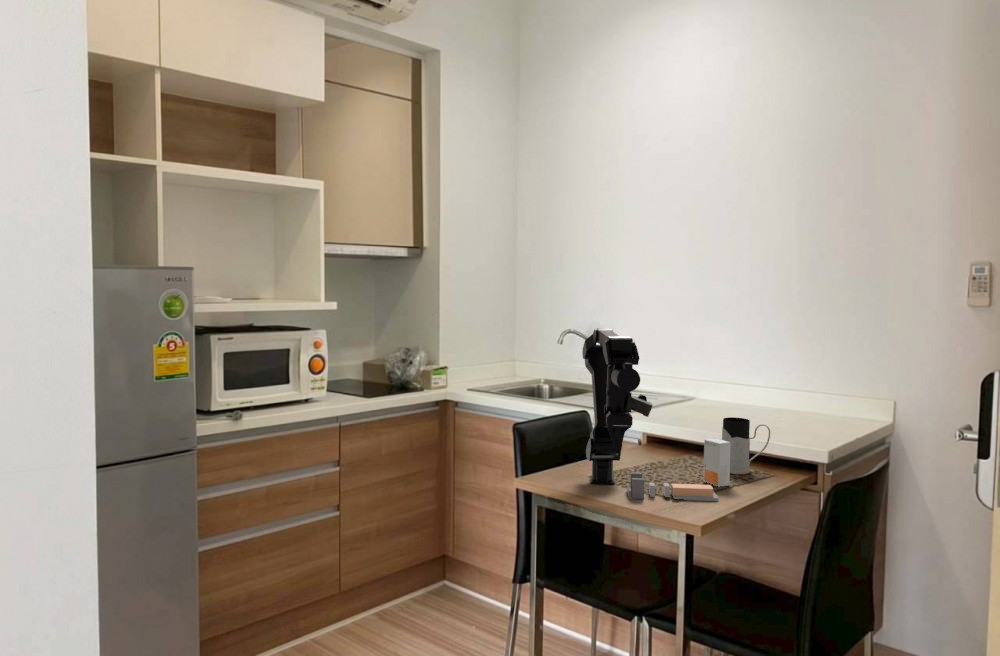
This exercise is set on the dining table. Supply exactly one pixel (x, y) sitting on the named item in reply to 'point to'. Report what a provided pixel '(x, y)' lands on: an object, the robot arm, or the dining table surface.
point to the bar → (692, 490)
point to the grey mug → (739, 443)
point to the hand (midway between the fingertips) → (617, 447)
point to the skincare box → (716, 462)
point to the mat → (697, 497)
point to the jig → (642, 487)
